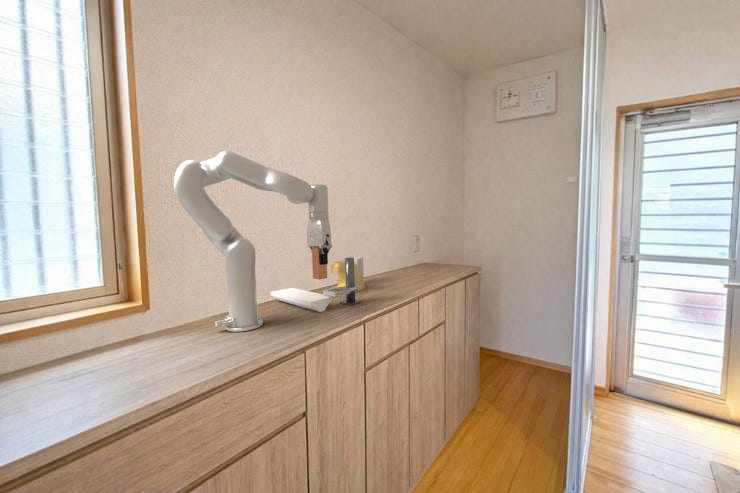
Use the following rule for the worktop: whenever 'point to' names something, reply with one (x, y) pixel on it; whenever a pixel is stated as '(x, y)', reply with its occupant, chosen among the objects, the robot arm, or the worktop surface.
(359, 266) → the skincare box
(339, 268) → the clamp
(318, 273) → the orange-brown rectangular block
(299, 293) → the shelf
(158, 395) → the worktop surface
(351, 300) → the rosette post
